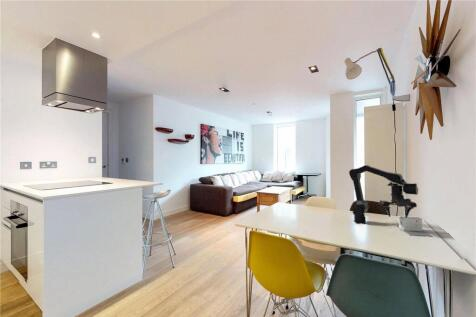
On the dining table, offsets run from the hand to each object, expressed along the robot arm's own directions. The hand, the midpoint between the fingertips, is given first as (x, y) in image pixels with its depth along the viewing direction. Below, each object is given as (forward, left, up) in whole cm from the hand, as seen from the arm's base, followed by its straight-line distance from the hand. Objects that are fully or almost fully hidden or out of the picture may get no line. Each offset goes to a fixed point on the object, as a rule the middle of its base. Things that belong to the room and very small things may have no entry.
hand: (397, 217), depth 133 cm
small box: (+2, +1, -4) cm, 4 cm away
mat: (+8, 0, -8) cm, 12 cm away
